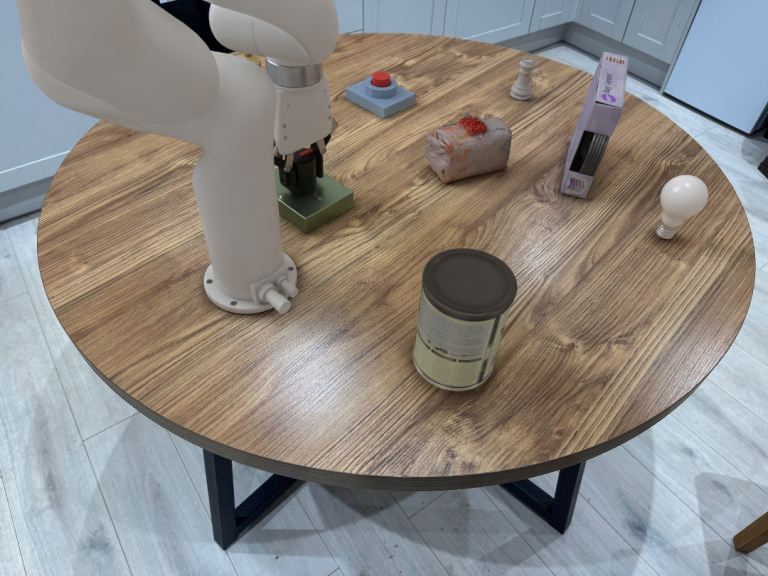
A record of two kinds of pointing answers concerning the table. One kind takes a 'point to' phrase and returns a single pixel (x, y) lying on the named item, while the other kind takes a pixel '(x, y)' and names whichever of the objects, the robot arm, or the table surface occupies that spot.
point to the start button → (381, 79)
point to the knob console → (314, 203)
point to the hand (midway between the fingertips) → (302, 179)
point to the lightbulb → (680, 203)
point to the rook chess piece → (523, 80)
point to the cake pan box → (595, 124)
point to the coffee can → (462, 317)
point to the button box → (380, 97)
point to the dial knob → (305, 170)
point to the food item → (469, 148)
